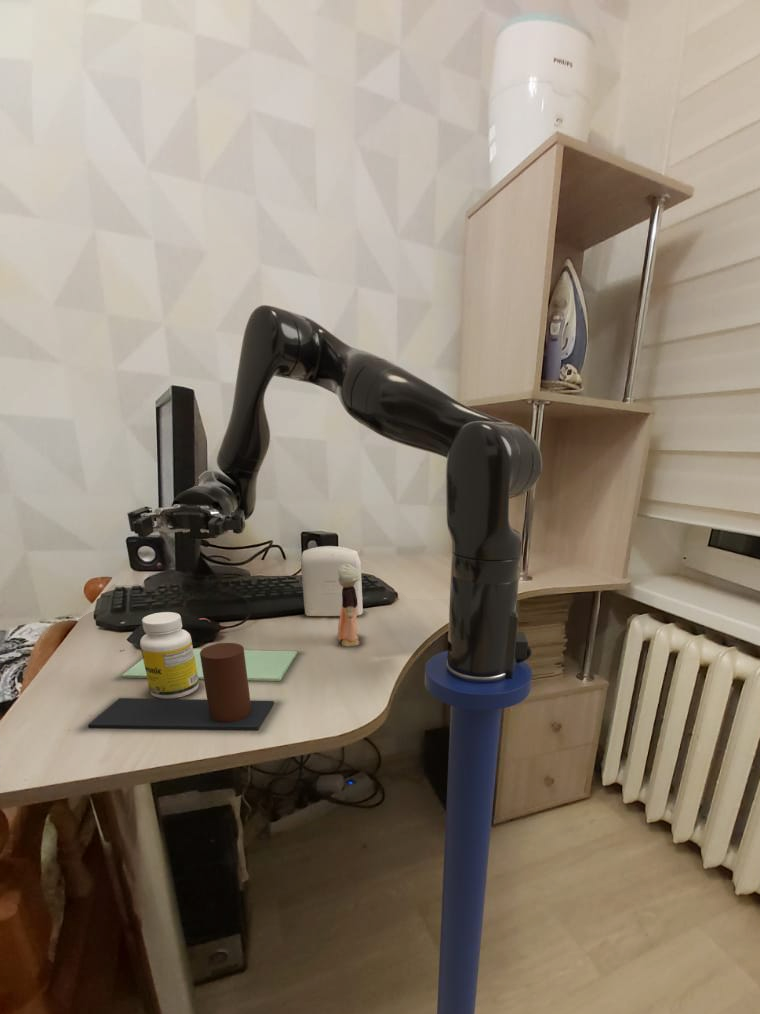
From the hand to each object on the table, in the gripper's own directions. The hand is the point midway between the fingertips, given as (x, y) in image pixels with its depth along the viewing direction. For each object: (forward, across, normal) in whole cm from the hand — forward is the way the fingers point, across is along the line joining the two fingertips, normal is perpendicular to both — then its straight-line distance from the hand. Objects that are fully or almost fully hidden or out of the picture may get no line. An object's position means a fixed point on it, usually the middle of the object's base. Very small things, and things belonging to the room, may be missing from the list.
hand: (176, 530), depth 68 cm
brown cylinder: (+19, +8, +18) cm, 27 cm away
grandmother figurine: (-2, +22, +18) cm, 28 cm away
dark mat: (+18, +3, +18) cm, 25 cm away
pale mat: (+4, +3, +18) cm, 19 cm away
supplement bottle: (+11, 0, +18) cm, 21 cm away
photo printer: (-16, +19, +18) cm, 31 cm away
